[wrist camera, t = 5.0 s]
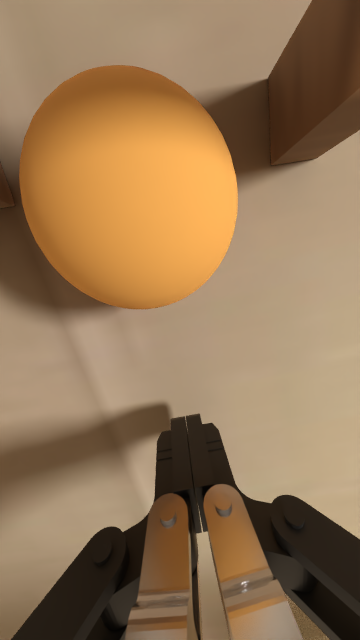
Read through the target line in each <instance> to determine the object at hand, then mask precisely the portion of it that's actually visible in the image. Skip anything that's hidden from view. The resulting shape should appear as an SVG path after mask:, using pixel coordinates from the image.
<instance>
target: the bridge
mask: <svg viewBox="0 0 360 640" xmlns="http://www.w3.org/2000/svg"><path fill="white" fill-rule="evenodd" d="M268 84H269V116H270V148H271V165H277V164H284V163H290V162H296V161H303V160H309V159H315V158H318V157H319V156H321V155H322V154H324V153H325V152H327V151H328V150H330V149H331V148H333V147H334V146H336V145H337V144H339V143H340V142H342V141H343V140H345V139H346V138H348V137H349V136H351V135H353V134H354V133H356V132H357V131H359V130H360V0H312V2H311V3H310V5H309V7H308V9H307V10H306V12H305V14H304V16H303V17H302V19H301V21H300V23H299V24H298V26H297V28H296V30H295V31H294V33H293V35H292V37H291V38H290V40H289V42H288V44H287V45H286V47H285V49H284V51H283V52H282V54H281V56H280V58H279V59H278V61H277V63H276V65H275V66H274V68H273V70H272V72H271V73H270V75H269V77H268ZM11 206H15V204H14V201H13V198H12V195H11V192H10V189H9V186H8V183H7V180H6V177H5V174H4V171H3V168H2V165H1V162H0V208H4V207H11Z"/></svg>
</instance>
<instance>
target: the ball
mask: <svg viewBox="0 0 360 640" xmlns="http://www.w3.org/2000/svg"><path fill="white" fill-rule="evenodd" d="M19 181H20V190H21V198H22V205H23V208H24V212H25V215H26V219H27V222H28V224H29V227H30V229H31V232H32V234H33V236H34V238H35V240H36V242H37V244H38V245H39V247H40V249H41V250H42V252H43V253H44V255H45V256H46V258H47V259H48V261H49V262H50V263H51V264H52V266H53V267H54V268H55V269H56V270H57V271H58V272H59V273H60V274H61V275H62V276H63V277H64V278H65V279H66V280H67V281H68V282H69V283H71V284H72V285H73V286H75V287H76V288H77V289H79V290H80V291H81V292H83V293H85V294H87V295H89V296H91V297H92V298H94V299H96V300H98V301H101V302H104V303H106V304H109V305H113V306H117V307H122V308H128V309H151V308H158V307H162V306H166V305H169V304H172V303H175V302H177V301H179V300H181V299H183V298H185V297H187V296H188V295H190V294H191V293H193V292H194V291H196V290H197V289H198V288H199V287H201V286H202V285H203V284H204V283H205V282H206V281H207V280H208V279H209V278H210V277H211V275H212V274H213V273H214V272H215V270H216V269H217V268H218V266H219V265H220V263H221V261H222V260H223V258H224V256H225V254H226V252H227V250H228V247H229V245H230V242H231V239H232V236H233V233H234V228H235V223H236V217H237V205H238V190H237V181H236V175H235V170H234V166H233V162H232V159H231V155H230V152H229V150H228V147H227V145H226V143H225V140H224V138H223V136H222V134H221V132H220V130H219V129H218V127H217V125H216V124H215V122H214V120H213V119H212V118H211V116H210V115H209V114H208V113H207V111H206V110H205V109H204V108H203V107H202V105H201V104H200V103H199V102H198V101H197V100H196V99H195V98H194V97H193V96H192V95H190V94H189V93H188V92H187V91H186V90H185V89H183V88H182V87H181V86H179V85H178V84H176V83H174V82H173V81H171V80H169V79H168V78H166V77H164V76H162V75H160V74H158V73H155V72H152V71H149V70H146V69H143V68H139V67H134V66H125V65H113V66H103V67H97V68H92V69H89V70H86V71H83V72H81V73H79V74H77V75H75V76H74V77H72V78H70V79H68V80H66V81H65V82H63V83H62V84H60V85H59V86H58V87H57V88H56V89H55V90H54V91H53V92H52V93H51V94H50V95H49V96H48V97H47V98H46V99H45V100H44V102H43V103H42V104H41V106H40V107H39V109H38V110H37V112H36V113H35V115H34V116H33V119H32V121H31V123H30V126H29V128H28V131H27V133H26V136H25V138H24V143H23V147H22V152H21V158H20V172H19Z"/></svg>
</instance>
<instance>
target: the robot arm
mask: <svg viewBox="0 0 360 640" xmlns="http://www.w3.org/2000/svg"><path fill="white" fill-rule="evenodd" d="M186 422H187V426H186ZM187 429H188V431H187ZM156 461H157V462H156V479H155V498H154V503H153V505H152V507H151V509H150V511H149V513H148V514H147V516H146V517H145V518H144V519H143V520H142V521H141V522H139V523H138V524H136V525H134V526H133V527H131V528H129V529H128V530H126V531H124V532H122V531H121V530H120V529H119V528H117V527H107V528H104V529H102V530H100V531H99V532H97V533H96V534H95V535H94V536H93V537H92V538H91V540H90V541H89V542H88V543H87V545H86V546H85V547H84V548H83V550H82V551H81V552H80V553H79V555H78V556H77V557H76V558H75V560H74V561H73V562H72V564H71V565H70V566H69V567H68V569H67V570H66V571H65V572H64V574H63V575H62V576H61V577H60V579H59V580H58V581H57V582H56V584H55V585H54V586H53V587H52V589H51V590H50V591H49V593H48V594H47V595H46V596H45V598H44V599H43V600H42V601H41V603H40V604H39V605H38V606H37V608H36V609H35V610H34V611H33V613H32V614H31V615H30V616H29V618H28V619H27V620H26V622H25V623H24V624H23V625H22V627H21V628H20V629H19V630H18V632H17V633H16V634H15V635H14V637H13V638H12V639H11V640H203V638H202V619H201V600H200V582H199V563H198V546H197V537H196V533H202V531H201V524H200V517H201V522H202V527H203V532H206V531H208V535H209V541H210V546H211V552H212V557H213V563H214V567H215V572H216V577H217V581H218V586H219V591H220V595H221V600H222V604H223V609H224V614H225V618H226V623H227V628H228V632H229V637H230V640H303V637H302V635H301V632H300V630H299V627H298V625H297V623H296V620H295V618H294V615H293V613H292V610H291V608H290V605H289V603H288V601H287V598H286V596H285V594H284V592H285V593H286V594H287V595H288V596H289V597H290V598H291V600H292V601H293V602H294V603H295V604H296V605H297V606H298V607H299V608H300V609H301V610H302V611H303V612H304V613H305V614H306V615H307V616H308V617H309V618H310V619H311V620H312V621H313V622H314V623H315V624H316V625H317V626H318V627H319V628H320V629H321V630H322V631H323V633H324V634H325V635H326V636H327V637H328V638H329V639H330V640H360V539H358V538H357V537H355V536H354V535H352V534H351V533H350V532H348V531H347V530H345V529H344V528H342V527H341V526H339V525H338V524H336V523H335V522H333V521H332V520H330V519H329V518H327V517H326V516H325V515H323V514H322V513H320V512H319V511H317V510H316V509H314V508H313V507H311V506H310V505H308V504H307V503H305V502H304V501H302V500H301V499H299V498H297V497H295V496H291V495H281V496H279V497H277V498H275V499H274V501H273V502H272V504H271V503H266V502H261V501H256V500H253V499H250V498H248V497H247V496H245V495H244V494H243V493H242V492H241V491H240V490H239V489H238V487H237V486H236V484H235V481H234V478H233V475H232V472H231V468H230V465H229V462H228V459H227V455H226V452H225V450H224V446H223V443H222V439H221V436H220V433H219V430H218V429H217V428H216V427H215V426H214V424H213V423H208V424H202V422H201V417H200V414H194V415H189V416H186V420H185V416H184V417H178V418H172V419H171V430H169V431H164V432H161V434H160V436H159V438H158V441H157V456H156ZM198 506H199V508H198ZM199 511H200V516H199Z"/></svg>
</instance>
